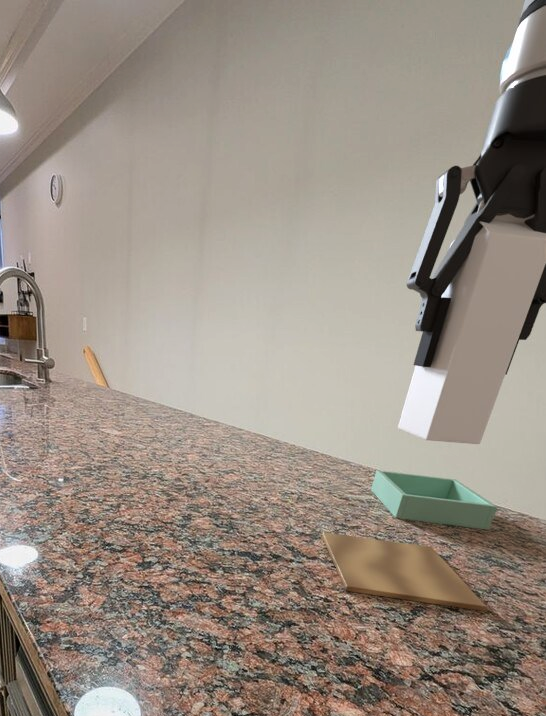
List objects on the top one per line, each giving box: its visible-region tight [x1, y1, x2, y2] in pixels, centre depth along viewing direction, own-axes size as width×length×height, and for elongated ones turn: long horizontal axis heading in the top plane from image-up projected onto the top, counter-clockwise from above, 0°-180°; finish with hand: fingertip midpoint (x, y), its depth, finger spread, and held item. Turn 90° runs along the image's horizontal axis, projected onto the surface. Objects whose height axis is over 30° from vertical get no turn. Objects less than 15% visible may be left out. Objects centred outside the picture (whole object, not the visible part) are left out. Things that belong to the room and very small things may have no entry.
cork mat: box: [321, 532, 488, 612], centre depth 53 cm, size 14×14×1 cm
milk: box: [397, 200, 546, 445], centre depth 46 cm, size 6×6×22 cm
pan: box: [370, 469, 498, 531], centre depth 74 cm, size 14×14×4 cm
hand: (458, 369), depth 47 cm, fingers closed on milk, 7 cm apart
